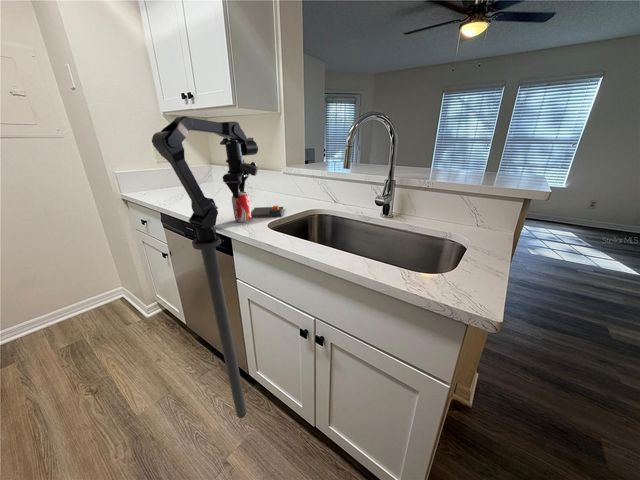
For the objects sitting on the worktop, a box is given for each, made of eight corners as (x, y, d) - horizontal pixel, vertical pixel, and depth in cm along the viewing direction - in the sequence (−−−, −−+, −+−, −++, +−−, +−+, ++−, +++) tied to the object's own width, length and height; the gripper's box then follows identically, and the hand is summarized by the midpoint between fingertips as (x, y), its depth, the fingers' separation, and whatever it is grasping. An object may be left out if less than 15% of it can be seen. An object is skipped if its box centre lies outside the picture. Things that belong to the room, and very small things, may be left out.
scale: (249, 217, 116) (249, 211, 114) (255, 210, 127) (254, 204, 126) (282, 216, 116) (281, 210, 115) (284, 209, 127) (284, 203, 126)
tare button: (272, 210, 116) (272, 207, 116) (273, 208, 119) (273, 205, 118) (278, 210, 116) (278, 207, 116) (279, 208, 119) (279, 205, 118)
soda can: (249, 223, 109) (245, 194, 104) (232, 223, 109) (228, 195, 104) (253, 218, 115) (250, 191, 111) (238, 218, 115) (234, 191, 111)
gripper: (250, 158, 94) (255, 200, 100) (259, 154, 111) (262, 190, 117) (219, 159, 93) (225, 201, 99) (233, 155, 111) (238, 191, 116)
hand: (239, 195), depth 108 cm, fingers open, 9 cm apart
